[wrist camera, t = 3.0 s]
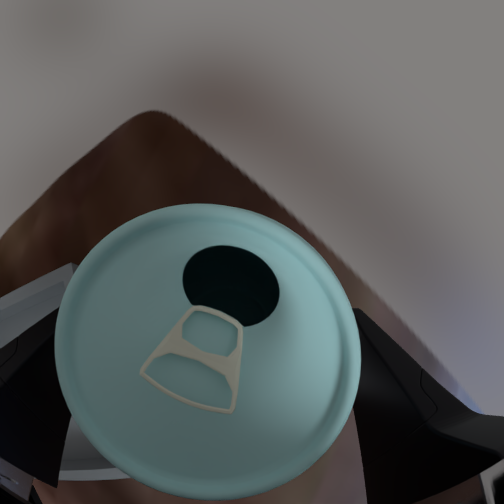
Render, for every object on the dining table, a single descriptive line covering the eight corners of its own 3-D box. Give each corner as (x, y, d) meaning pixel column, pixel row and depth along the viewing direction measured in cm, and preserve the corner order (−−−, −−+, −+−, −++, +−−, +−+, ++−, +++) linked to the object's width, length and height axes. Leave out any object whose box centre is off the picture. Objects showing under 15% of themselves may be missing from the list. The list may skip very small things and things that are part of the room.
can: (153, 288, 16) (15, 228, 5) (266, 259, 17) (326, 140, 5) (183, 400, 15) (101, 523, 3) (298, 371, 16) (413, 459, 4)
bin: (165, 453, 14) (154, 474, 11) (39, 464, 12) (20, 476, 9) (94, 271, 16) (70, 262, 13) (-13, 321, 14) (-37, 318, 12)
